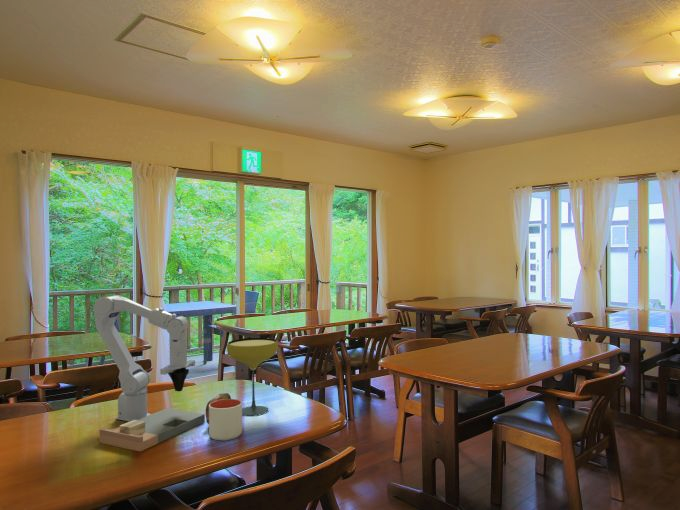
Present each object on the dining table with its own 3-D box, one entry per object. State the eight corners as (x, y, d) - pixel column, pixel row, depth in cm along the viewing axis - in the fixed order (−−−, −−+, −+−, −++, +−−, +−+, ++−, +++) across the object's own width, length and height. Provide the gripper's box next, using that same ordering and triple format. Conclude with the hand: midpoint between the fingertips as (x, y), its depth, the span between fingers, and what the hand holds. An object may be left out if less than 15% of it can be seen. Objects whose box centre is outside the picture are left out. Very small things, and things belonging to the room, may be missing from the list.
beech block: (119, 435, 141) (119, 425, 141) (134, 429, 146) (134, 419, 146) (130, 437, 139) (130, 427, 139) (145, 431, 144) (145, 421, 144)
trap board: (99, 442, 142) (99, 429, 142) (167, 415, 167) (167, 403, 167) (140, 451, 135) (140, 437, 135) (204, 421, 159) (204, 409, 159)
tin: (212, 429, 152) (212, 403, 152) (204, 428, 153) (203, 402, 153) (232, 414, 167) (232, 390, 167) (224, 413, 168) (224, 389, 168)
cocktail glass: (281, 416, 163) (280, 344, 163) (228, 421, 159) (227, 347, 159) (275, 401, 180) (274, 336, 181) (227, 405, 176) (226, 339, 176)
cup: (248, 431, 149) (247, 400, 149) (231, 443, 140) (230, 410, 140) (221, 428, 152) (220, 397, 153) (202, 439, 143) (202, 407, 143)
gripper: (171, 356, 155) (171, 397, 155) (201, 348, 169) (202, 386, 168) (155, 355, 158) (156, 395, 158) (186, 347, 172) (187, 384, 171)
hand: (178, 390), depth 164 cm, fingers closed
